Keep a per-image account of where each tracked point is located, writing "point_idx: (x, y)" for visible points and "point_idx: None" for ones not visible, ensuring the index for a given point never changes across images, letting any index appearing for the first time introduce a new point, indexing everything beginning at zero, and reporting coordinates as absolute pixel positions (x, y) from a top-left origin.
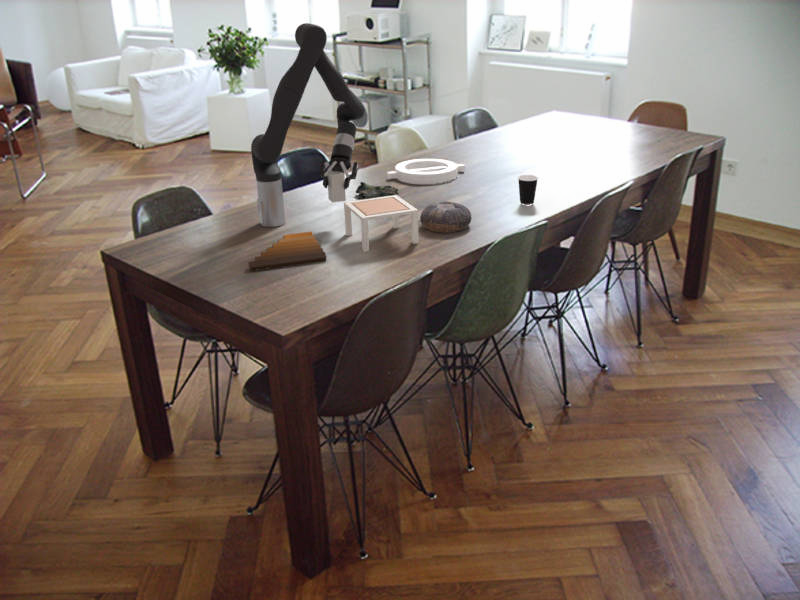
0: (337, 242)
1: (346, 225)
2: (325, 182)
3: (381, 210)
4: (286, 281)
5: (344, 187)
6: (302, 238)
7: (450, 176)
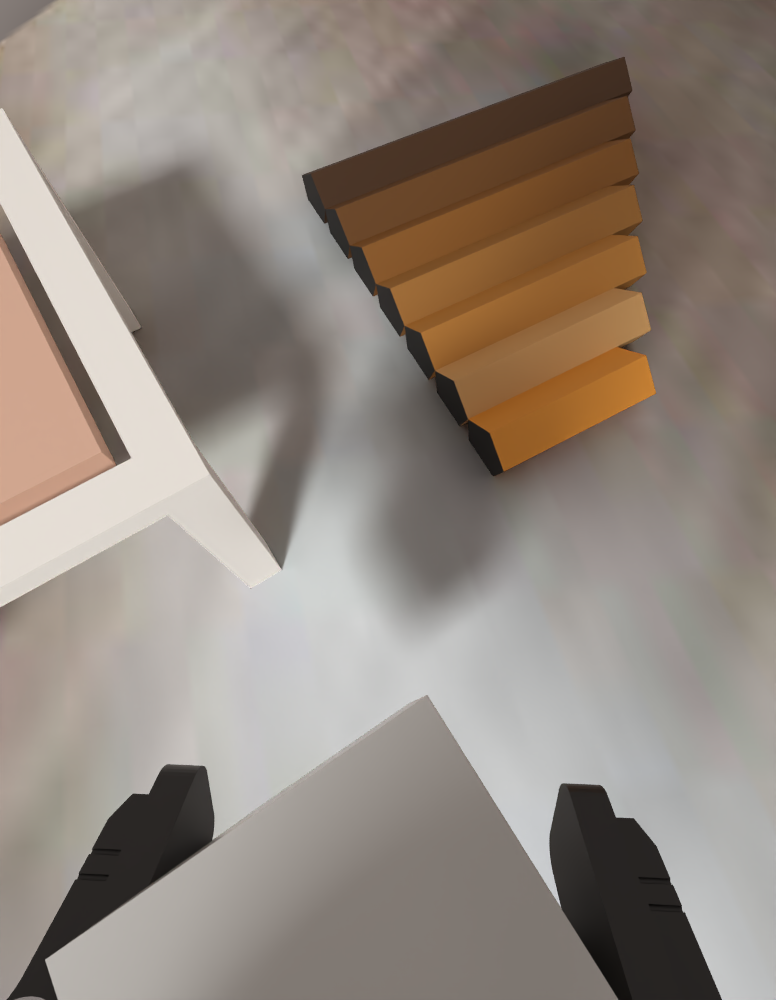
0: (306, 423)
1: (250, 522)
2: (597, 842)
3: None
4: (412, 35)
5: (194, 769)
6: (510, 346)
7: None
